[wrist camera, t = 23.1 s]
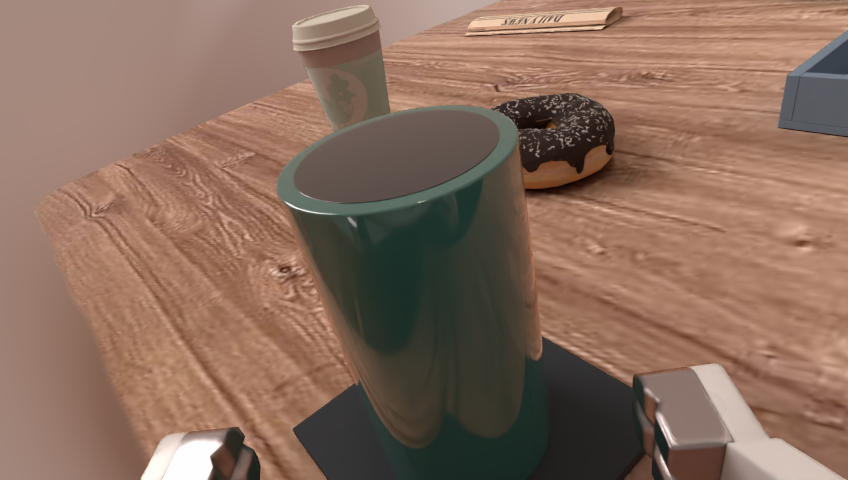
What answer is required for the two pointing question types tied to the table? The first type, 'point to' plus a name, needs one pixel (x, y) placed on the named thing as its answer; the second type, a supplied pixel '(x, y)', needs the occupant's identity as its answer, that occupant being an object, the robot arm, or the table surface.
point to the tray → (819, 92)
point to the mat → (567, 449)
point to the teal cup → (430, 286)
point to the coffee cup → (344, 63)
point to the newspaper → (546, 21)
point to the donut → (560, 137)
